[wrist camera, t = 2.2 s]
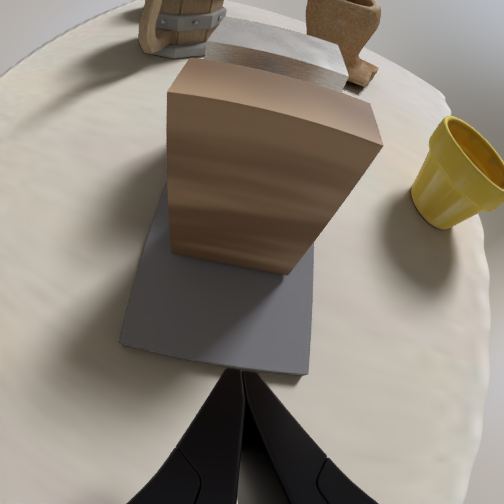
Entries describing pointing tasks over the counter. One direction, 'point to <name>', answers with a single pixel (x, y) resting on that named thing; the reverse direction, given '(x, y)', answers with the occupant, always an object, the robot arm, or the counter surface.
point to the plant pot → (458, 175)
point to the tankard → (178, 26)
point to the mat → (218, 308)
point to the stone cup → (346, 31)
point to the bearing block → (278, 52)
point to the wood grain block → (259, 162)
